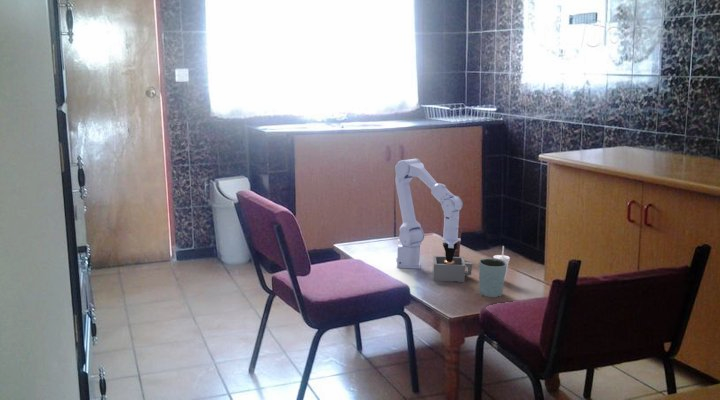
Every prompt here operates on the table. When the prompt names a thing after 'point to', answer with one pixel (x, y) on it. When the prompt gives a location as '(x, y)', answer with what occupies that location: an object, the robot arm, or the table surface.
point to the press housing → (450, 269)
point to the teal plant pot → (491, 277)
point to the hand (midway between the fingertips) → (449, 261)
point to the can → (458, 243)
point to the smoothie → (503, 259)
